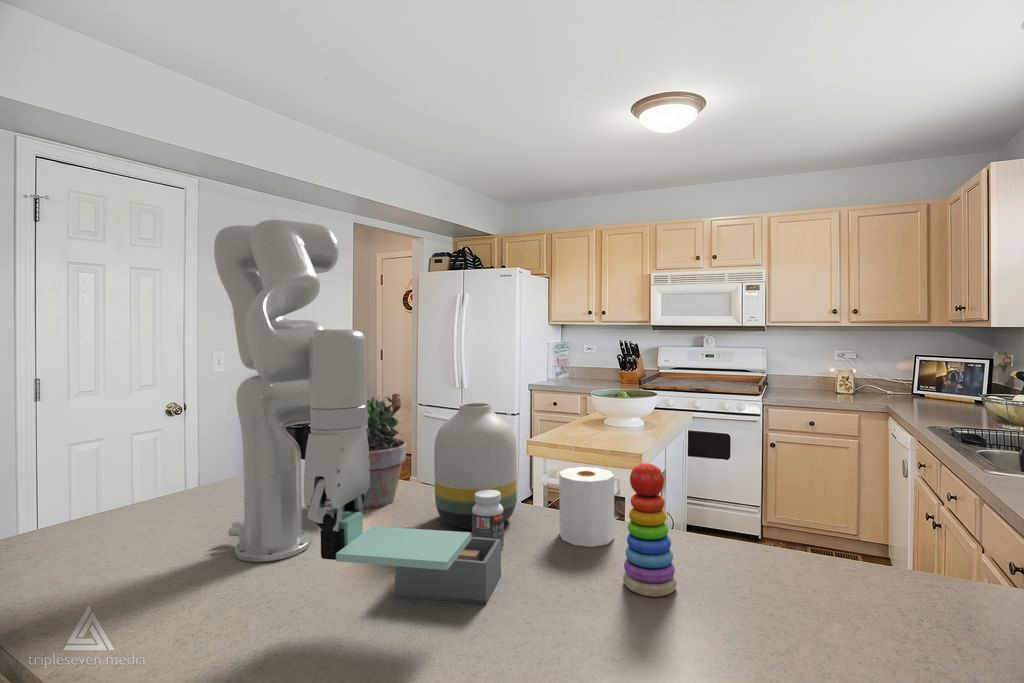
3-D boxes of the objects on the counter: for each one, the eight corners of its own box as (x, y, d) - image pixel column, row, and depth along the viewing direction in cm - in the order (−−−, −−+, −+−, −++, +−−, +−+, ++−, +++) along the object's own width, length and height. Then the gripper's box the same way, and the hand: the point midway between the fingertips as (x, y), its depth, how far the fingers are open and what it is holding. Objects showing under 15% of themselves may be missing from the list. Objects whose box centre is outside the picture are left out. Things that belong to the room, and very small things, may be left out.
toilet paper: (608, 550, 95) (608, 483, 95) (552, 542, 99) (552, 477, 99) (618, 530, 105) (618, 469, 104) (567, 523, 108) (567, 464, 108)
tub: (395, 595, 80) (394, 555, 79) (418, 568, 88) (418, 532, 88) (486, 604, 77) (485, 563, 76) (501, 576, 85) (500, 539, 85)
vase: (534, 521, 110) (533, 405, 109) (466, 543, 99) (465, 413, 98) (484, 502, 123) (483, 397, 122) (419, 519, 112) (418, 404, 111)
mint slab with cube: (308, 559, 69) (307, 528, 69) (348, 531, 79) (347, 504, 79) (447, 570, 65) (446, 537, 65) (471, 539, 75) (470, 511, 75)
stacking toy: (677, 578, 84) (677, 460, 84) (675, 603, 77) (675, 473, 76) (626, 571, 87) (626, 456, 86) (619, 594, 79) (619, 468, 79)
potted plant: (327, 493, 130) (326, 390, 129) (409, 487, 135) (408, 388, 134) (319, 518, 112) (317, 400, 112) (413, 510, 117) (412, 396, 117)
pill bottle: (499, 555, 93) (499, 499, 93) (468, 553, 94) (467, 497, 94) (506, 542, 99) (506, 489, 99) (476, 540, 100) (476, 487, 100)
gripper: (346, 410, 83) (348, 528, 83) (276, 429, 66) (279, 576, 66) (391, 411, 81) (393, 531, 81) (330, 430, 65) (333, 581, 65)
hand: (342, 550), depth 74 cm, fingers closed on mint slab with cube, 4 cm apart
